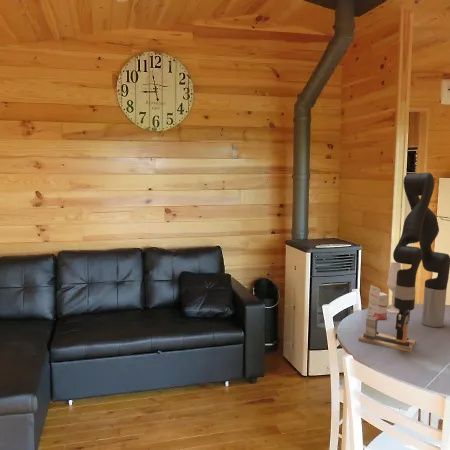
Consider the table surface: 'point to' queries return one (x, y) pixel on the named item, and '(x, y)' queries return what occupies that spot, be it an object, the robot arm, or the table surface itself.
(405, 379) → the table surface
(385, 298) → the ink cartridge box
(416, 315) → the table surface
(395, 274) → the champagne flute
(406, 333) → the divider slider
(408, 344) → the pitch plate
